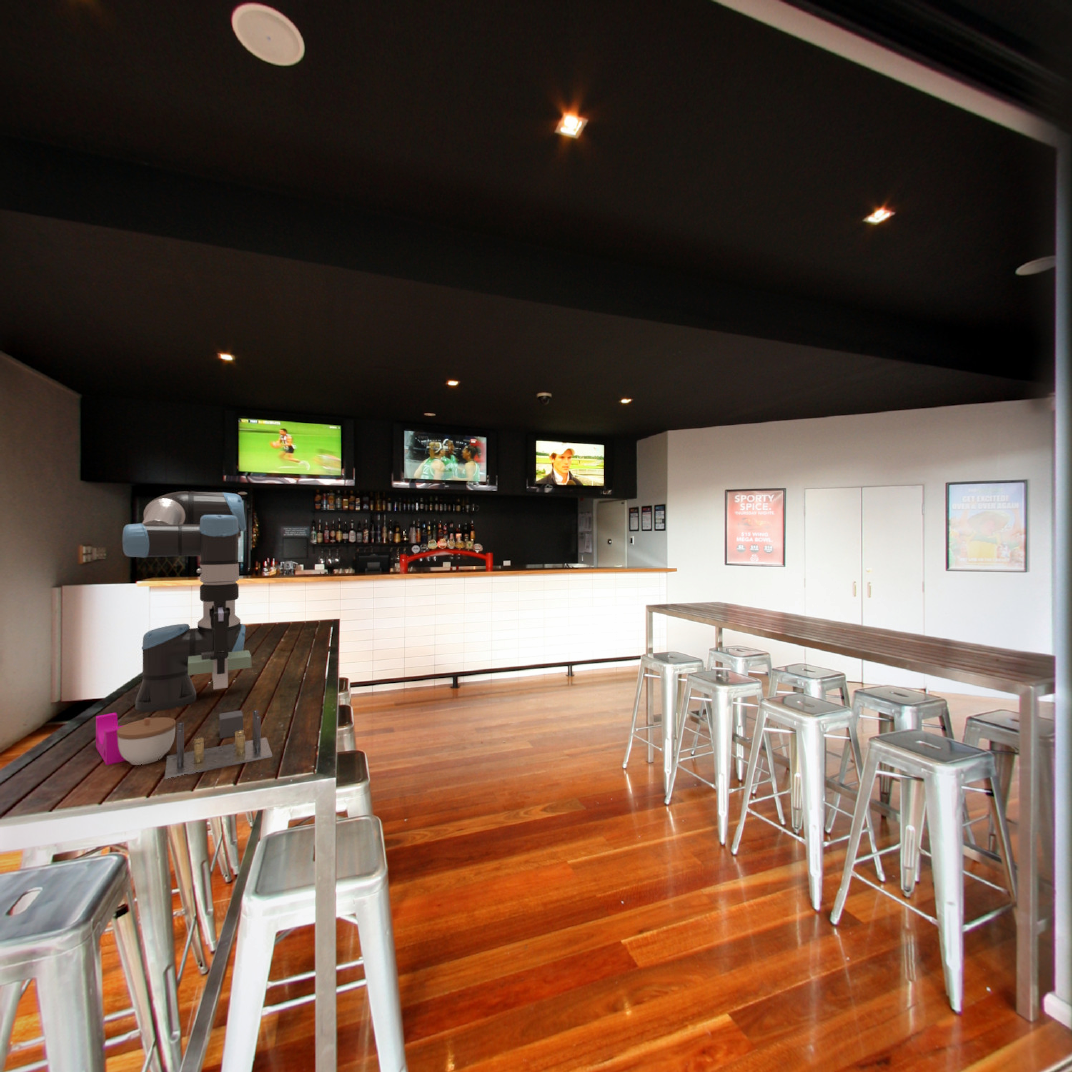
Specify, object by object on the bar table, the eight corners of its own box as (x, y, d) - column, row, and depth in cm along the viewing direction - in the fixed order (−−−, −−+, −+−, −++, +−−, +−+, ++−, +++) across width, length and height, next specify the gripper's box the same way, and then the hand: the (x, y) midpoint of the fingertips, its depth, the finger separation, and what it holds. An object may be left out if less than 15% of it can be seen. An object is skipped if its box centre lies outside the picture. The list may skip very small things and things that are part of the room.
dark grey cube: (219, 733, 135) (219, 713, 135) (241, 729, 138) (241, 710, 138) (220, 739, 131) (220, 719, 131) (243, 735, 134) (243, 715, 134)
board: (188, 667, 119) (188, 652, 119) (248, 660, 126) (248, 645, 126) (187, 675, 113) (187, 658, 113) (251, 667, 119) (251, 652, 119)
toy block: (141, 757, 120) (141, 724, 120) (106, 766, 116) (106, 732, 116) (128, 740, 131) (128, 709, 131) (95, 747, 126) (95, 716, 126)
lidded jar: (184, 756, 121) (184, 715, 121) (129, 774, 112) (129, 730, 112) (162, 746, 126) (162, 707, 126) (108, 762, 117) (108, 720, 117)
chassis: (167, 760, 119) (167, 720, 119) (266, 741, 130) (266, 704, 130) (164, 781, 109) (164, 737, 109) (272, 758, 120) (272, 719, 120)
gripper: (199, 580, 126) (199, 675, 126) (200, 587, 109) (200, 697, 108) (235, 579, 130) (235, 671, 130) (241, 585, 113) (242, 691, 113)
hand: (219, 683), depth 119 cm, fingers closed on board, 8 cm apart
